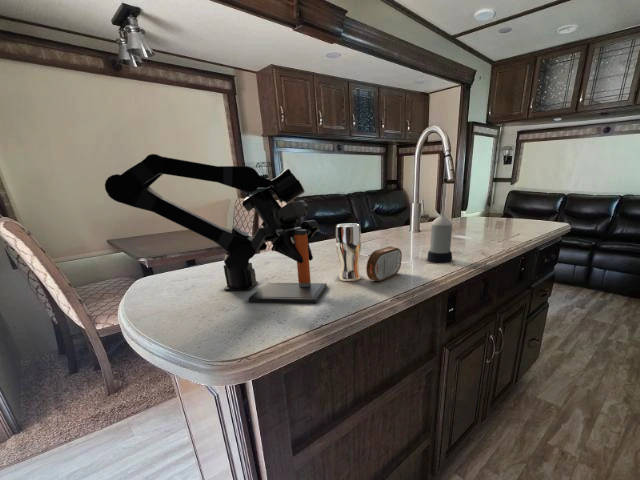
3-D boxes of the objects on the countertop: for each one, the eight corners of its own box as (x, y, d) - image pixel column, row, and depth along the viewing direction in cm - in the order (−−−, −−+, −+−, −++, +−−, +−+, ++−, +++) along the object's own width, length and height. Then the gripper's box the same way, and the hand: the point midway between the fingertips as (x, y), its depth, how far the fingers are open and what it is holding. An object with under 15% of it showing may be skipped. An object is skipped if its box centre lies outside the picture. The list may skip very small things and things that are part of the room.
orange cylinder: (297, 287, 80) (292, 231, 75) (300, 283, 82) (296, 229, 78) (309, 287, 79) (304, 231, 74) (312, 283, 82) (308, 229, 77)
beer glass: (363, 275, 93) (362, 223, 88) (360, 282, 87) (359, 226, 82) (340, 274, 94) (337, 223, 89) (335, 281, 88) (332, 226, 82)
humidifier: (455, 259, 109) (462, 182, 100) (445, 264, 103) (451, 183, 94) (434, 256, 114) (438, 182, 105) (423, 261, 108) (426, 183, 99)
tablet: (248, 302, 74) (248, 297, 73) (268, 286, 85) (267, 282, 84) (316, 303, 72) (315, 298, 72) (326, 286, 83) (326, 282, 83)
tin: (394, 270, 97) (394, 243, 94) (403, 272, 95) (404, 244, 92) (365, 283, 86) (364, 252, 83) (375, 285, 84) (374, 254, 81)
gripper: (252, 190, 67) (294, 246, 66) (311, 188, 82) (347, 234, 80) (235, 225, 74) (272, 277, 72) (292, 217, 89) (325, 260, 87)
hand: (307, 260), depth 78 cm, fingers closed on orange cylinder, 3 cm apart
